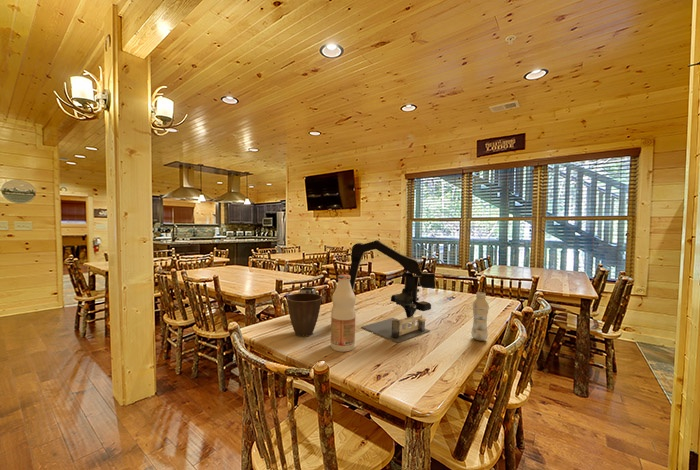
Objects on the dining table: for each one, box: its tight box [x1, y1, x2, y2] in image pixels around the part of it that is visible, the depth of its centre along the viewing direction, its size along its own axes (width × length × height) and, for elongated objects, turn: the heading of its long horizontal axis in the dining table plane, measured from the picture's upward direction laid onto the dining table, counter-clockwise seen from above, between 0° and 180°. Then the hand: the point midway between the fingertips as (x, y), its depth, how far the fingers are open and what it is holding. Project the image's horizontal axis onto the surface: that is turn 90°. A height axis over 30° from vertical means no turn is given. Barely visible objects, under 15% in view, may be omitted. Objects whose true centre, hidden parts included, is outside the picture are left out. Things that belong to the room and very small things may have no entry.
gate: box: [398, 313, 423, 336], centre depth 128 cm, size 16×2×6 cm, turn 129°
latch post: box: [418, 317, 427, 332], centre depth 130 cm, size 2×2×6 cm
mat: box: [361, 317, 430, 344], centre depth 132 cm, size 22×22×1 cm
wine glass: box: [299, 286, 316, 294], centre depth 145 cm, size 8×8×15 cm
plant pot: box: [286, 292, 322, 338], centre depth 125 cm, size 15×15×16 cm
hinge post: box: [391, 319, 400, 339], centre depth 121 cm, size 3×3×8 cm
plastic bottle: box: [470, 291, 490, 342], centre depth 122 cm, size 6×7×20 cm
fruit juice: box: [330, 274, 357, 353], centre depth 111 cm, size 9×9×28 cm
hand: (409, 320), depth 131 cm, fingers closed
